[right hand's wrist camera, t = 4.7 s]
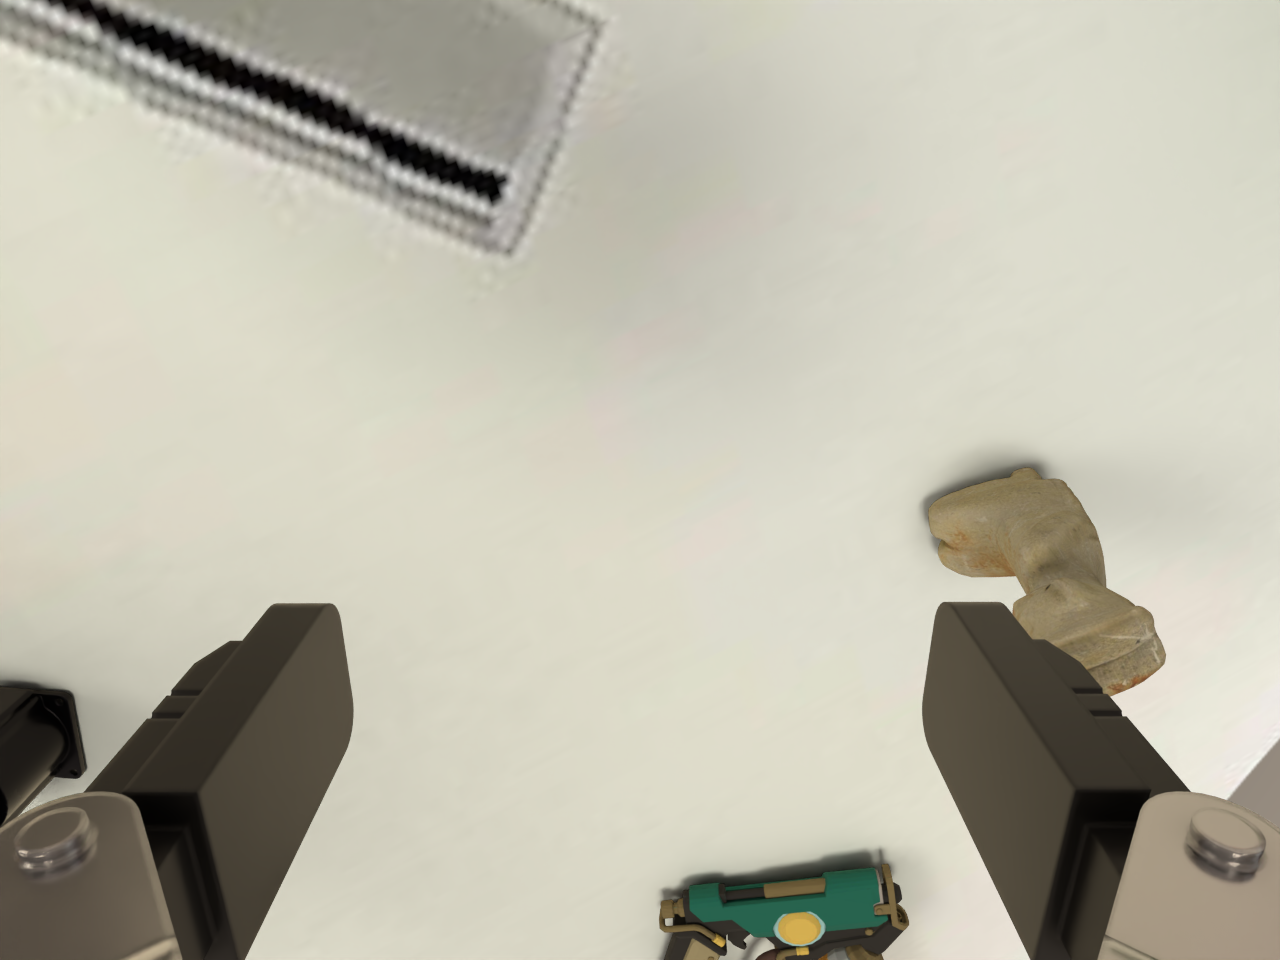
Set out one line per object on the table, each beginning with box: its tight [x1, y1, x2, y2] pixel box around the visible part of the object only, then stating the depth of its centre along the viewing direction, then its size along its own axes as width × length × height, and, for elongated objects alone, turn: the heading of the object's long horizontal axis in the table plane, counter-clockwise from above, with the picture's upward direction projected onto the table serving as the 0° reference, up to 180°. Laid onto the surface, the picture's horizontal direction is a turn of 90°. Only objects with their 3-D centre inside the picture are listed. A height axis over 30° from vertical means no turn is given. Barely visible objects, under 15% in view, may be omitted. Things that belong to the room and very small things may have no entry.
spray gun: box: [659, 864, 909, 960], centre depth 58 cm, size 4×17×15 cm
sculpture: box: [928, 468, 1166, 696], centre depth 41 cm, size 6×7×15 cm
